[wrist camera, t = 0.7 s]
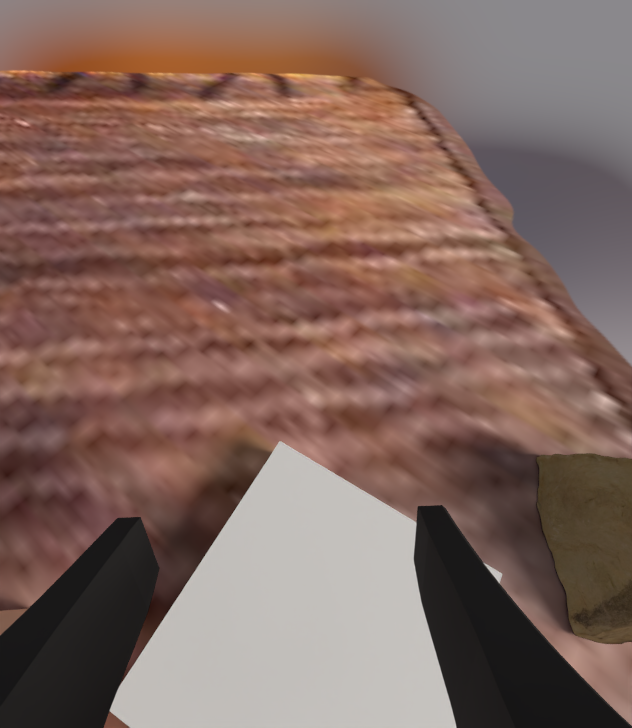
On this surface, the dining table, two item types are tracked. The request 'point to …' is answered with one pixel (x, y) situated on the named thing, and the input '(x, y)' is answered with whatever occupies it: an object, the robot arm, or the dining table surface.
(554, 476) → the rock
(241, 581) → the base plinth
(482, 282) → the dining table surface
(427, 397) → the dining table surface
